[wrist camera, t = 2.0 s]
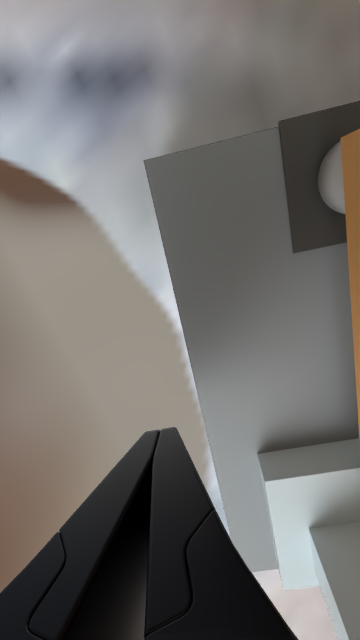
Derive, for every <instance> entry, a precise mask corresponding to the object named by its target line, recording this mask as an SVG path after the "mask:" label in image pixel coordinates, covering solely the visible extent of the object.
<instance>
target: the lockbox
mask: <svg viewBox="0 0 360 640" xmlns="http://www.w3.org/2000/svg"><path fill="white" fill-rule="evenodd" d="M278 125H279V127H276V128H272V129H268V130H264V131H260V132H256V133H252V134H248V135H244V136H240V137H236V138H232V139H228V140H224V141H220V142H216V143H212V144H208V145H204V146H200V147H196V148H192V149H188V150H184V151H180V152H176V153H172V154H168V155H164V156H160V157H156V158H152V159H148V160H144V164H145V169H146V173H147V177H148V182H149V186H150V190H151V195H152V199H153V203H154V207H155V212H156V216H157V220H158V225H159V229H160V233H161V238H162V242H163V246H164V251H165V255H166V259H167V264H168V268H169V272H170V277H171V281H172V285H173V290H174V294H175V298H176V303H177V307H178V311H179V316H180V320H181V324H182V329H183V333H184V337H185V342H186V346H187V350H188V355H189V359H190V363H191V368H192V372H193V376H194V381H195V385H196V389H197V394H198V398H199V402H200V406H201V411H202V415H203V419H204V424H205V428H206V432H207V437H208V441H209V445H210V450H211V454H212V458H213V463H214V467H215V471H216V476H217V480H218V484H219V489H220V493H221V497H222V502H223V506H224V510H225V515H226V519H227V523H228V528H229V532H230V536H231V541H232V543H233V544H234V546H235V548H236V549H237V551H238V552H239V554H240V556H241V557H242V559H243V560H244V562H245V564H246V565H247V567H248V568H249V570H250V571H251V572H256V571H264V570H273V569H278V564H277V560H276V556H275V551H274V545H273V540H272V534H271V528H270V523H269V517H268V512H267V506H266V501H265V495H264V489H263V484H262V478H261V473H260V467H259V462H258V456H257V454H260V453H266V452H273V451H279V450H286V449H292V448H299V447H305V446H312V445H318V444H325V443H331V442H338V441H344V440H351V439H357V438H359V424H358V408H357V392H356V376H355V360H354V344H353V328H352V312H351V296H350V280H349V264H348V248H347V232H346V216H345V214H342V213H339V212H336V211H334V210H333V209H331V208H330V207H329V206H328V205H327V204H326V203H325V202H324V200H323V199H322V197H321V195H320V192H319V188H318V173H319V169H320V166H321V163H322V161H323V159H324V157H325V156H326V154H327V153H328V151H329V150H330V149H331V148H332V147H333V146H334V145H335V144H336V143H338V142H339V141H341V137H343V136H345V135H347V134H349V133H352V132H354V131H356V130H358V129H360V101H358V102H354V103H350V104H346V105H342V106H338V107H334V108H330V109H326V110H322V111H318V112H314V113H310V114H306V115H302V116H298V117H294V118H290V119H286V120H282V121H279V122H278Z"/></svg>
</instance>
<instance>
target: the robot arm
mask: <svg viewBox="0 0 360 640" xmlns="http://www.w3.org/2000/svg"><path fill="white" fill-rule="evenodd" d="M59 531H60V533H59V532H57V533H56V534H55V535H54V536H53V537H52V538H51V540H50V541H49V542H48V543H47V544H46V545H45V547H44V548H43V549H42V550H41V551H40V552H39V553H38V554H37V555H36V556H35V557H34V559H33V560H32V561H31V562H30V563H29V564H28V565H27V566H26V567H25V568H24V569H23V570H22V571H21V572H20V573H19V575H17V576H16V577H15V579H13V581H12V582H11V583H10V584H9V585H8V586H7V587H6V588H5V589H4V590H3V591H2V592H1V593H0V640H298V639H297V637H296V636H295V635H294V633H293V632H292V630H291V629H290V628H289V626H288V625H287V624H286V622H285V621H284V619H283V618H282V616H281V615H280V613H279V612H278V610H277V609H276V608H275V606H274V605H273V603H272V602H271V600H270V599H269V597H268V596H267V594H266V593H265V591H264V590H263V589H262V587H261V586H260V584H259V583H258V581H257V580H256V578H255V577H254V575H253V574H252V572H251V571H250V570H249V568H248V567H247V565H246V564H245V562H244V560H243V559H242V557H241V556H240V554H239V552H238V551H237V549H236V548H235V546H234V544H233V543H232V541H231V539H230V537H229V535H228V533H227V531H226V530H225V528H224V526H223V524H222V522H221V520H220V518H219V516H218V513H217V512H216V510H215V508H214V505H213V503H212V501H211V499H210V497H209V495H208V493H207V491H206V489H205V487H204V485H203V483H202V480H201V478H200V476H199V474H198V472H197V470H196V468H195V466H194V464H193V462H192V460H191V457H190V455H189V453H188V451H187V450H186V447H185V445H184V443H183V441H182V439H181V437H180V435H179V432H178V430H177V429H176V428H175V427H172V428H165V429H162V430H161V431H160V430H153V431H147V432H145V433H144V434H143V435H142V436H141V437H140V438H139V440H138V441H137V442H136V443H135V444H134V445H133V447H131V449H130V450H129V451H128V452H127V453H126V454H125V456H124V457H123V458H122V459H121V460H120V461H119V462H118V463H117V465H116V466H115V467H114V468H113V469H112V470H111V471H110V473H109V474H108V475H107V476H106V477H105V478H104V479H103V481H102V482H101V483H100V484H99V485H98V486H97V487H96V489H95V490H94V491H93V492H92V493H91V494H90V495H89V497H88V498H87V499H86V500H85V501H84V502H83V503H82V504H81V506H80V507H79V508H78V509H77V510H76V511H75V512H74V514H73V515H72V516H71V517H70V518H69V519H68V520H67V521H66V523H65V524H64V525H63V526H62V527H61V528H60V530H59Z"/></svg>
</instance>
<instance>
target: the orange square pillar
mask: <svg viewBox="0 0 360 640" xmlns="http://www.w3.org/2000/svg"><path fill="white" fill-rule="evenodd" d="M318 188H319V192H320V195H321V197H322V199H323V200H324V202H325V203H326V204H327V205H328V206H329V207H330V208H331V209H333V210H334V211H336V212H339V213H342V214H345V216H346V232H347V248H348V264H349V280H350V296H351V312H352V328H353V344H354V360H355V376H356V392H357V408H358V424H359V440H360V129H358V130H356V131H354V132H352V133H349V134H347V135H345V136H343V137H341V141H339V142H338V143H336V144H335V145H334V146H333V147H332V148H331V149H330V150H329V151H328V153H327V154H326V156H325V157H324V159H323V161H322V163H321V166H320V169H319V173H318Z"/></svg>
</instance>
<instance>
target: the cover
mask: <svg viewBox="0 0 360 640" xmlns="http://www.w3.org/2000/svg"><path fill="white" fill-rule="evenodd" d="M257 456H258V462H259V467H260V473H261V478H262V484H263V489H264V495H265V501H266V506H267V512H268V517H269V523H270V528H271V534H272V540H273V545H274V551H275V556H276V560H277V564H278V569H279V573H280V577H281V581H282V585H283V589H284V590H292V589H300V588H309V587H318V586H320V588H321V591H322V594H323V597H324V600H325V603H326V606H327V609H328V612H329V615H330V618H331V621H332V623H333V626H334V629H335V632H336V635H337V638H338V640H360V440H359V438H357V439H351V440H344V441H338V442H331V443H325V444H318V445H312V446H305V447H299V448H292V449H286V450H279V451H273V452H266V453H260V454H257Z"/></svg>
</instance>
